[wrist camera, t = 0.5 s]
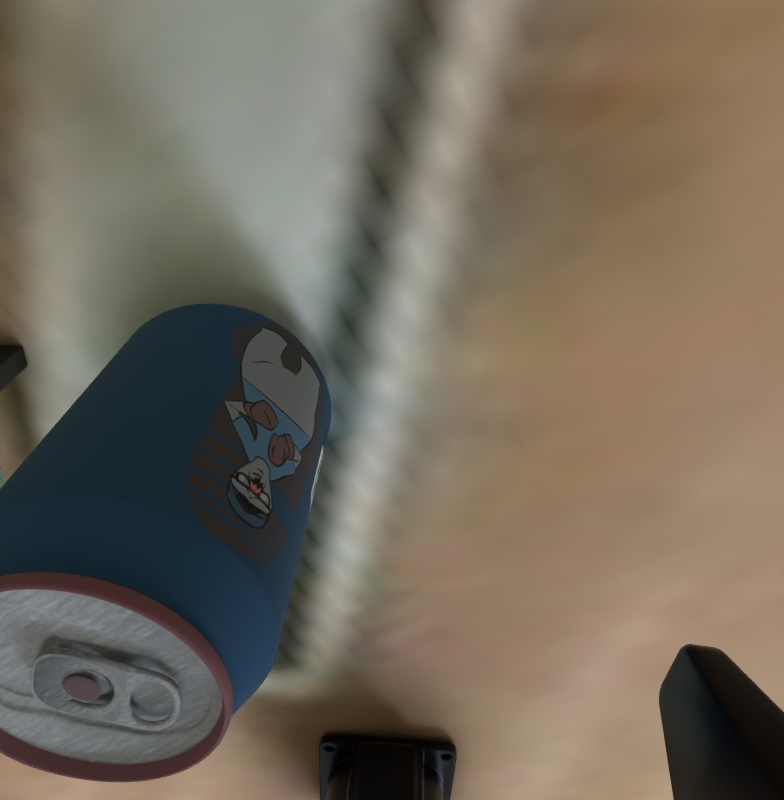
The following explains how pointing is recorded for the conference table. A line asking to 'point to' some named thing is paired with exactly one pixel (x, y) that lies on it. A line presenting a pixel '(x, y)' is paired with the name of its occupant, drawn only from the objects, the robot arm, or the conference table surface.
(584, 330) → the conference table surface
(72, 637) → the soda can
